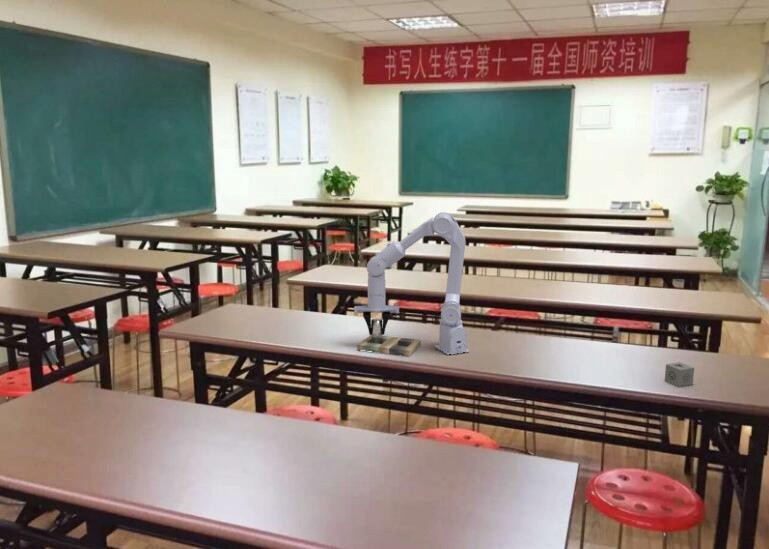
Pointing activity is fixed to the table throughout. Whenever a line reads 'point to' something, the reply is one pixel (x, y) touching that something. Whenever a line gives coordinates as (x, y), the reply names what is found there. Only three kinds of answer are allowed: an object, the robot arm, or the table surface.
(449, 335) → the robot arm
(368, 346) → the tool stand
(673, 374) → the dice cube
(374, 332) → the metal cylinder
